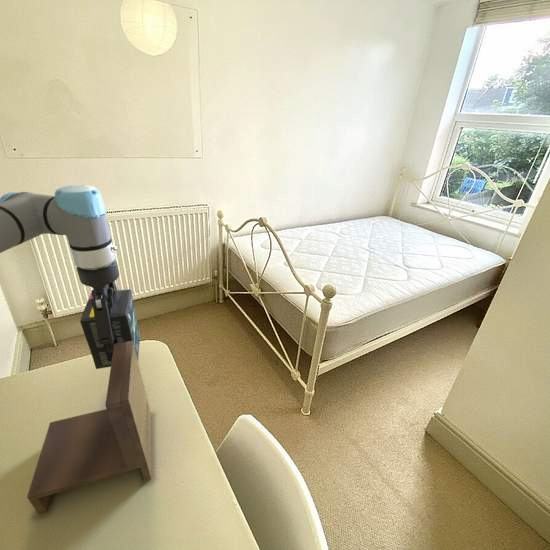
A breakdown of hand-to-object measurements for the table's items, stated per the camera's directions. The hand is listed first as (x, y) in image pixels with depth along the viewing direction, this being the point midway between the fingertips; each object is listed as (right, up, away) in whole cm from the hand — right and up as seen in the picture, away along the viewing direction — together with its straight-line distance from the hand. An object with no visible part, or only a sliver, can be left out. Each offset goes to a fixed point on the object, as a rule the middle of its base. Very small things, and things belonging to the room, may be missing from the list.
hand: (117, 342), depth 75 cm
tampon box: (0, -3, +1) cm, 3 cm away
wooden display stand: (+5, -20, -14) cm, 25 cm away
